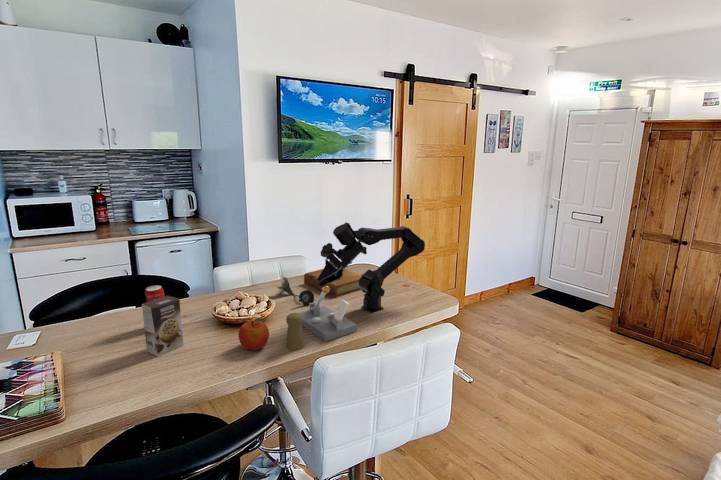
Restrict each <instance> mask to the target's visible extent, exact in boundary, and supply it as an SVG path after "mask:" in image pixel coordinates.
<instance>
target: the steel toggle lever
mask: <svg viewBox="0 0 721 480" xmlns="http://www.w3.org/2000/svg"><path fill="white" fill-rule="evenodd" d="M329 291H330V288H329V286H327V285H324V286H323V287H322V291H321V292H320V294H319V296H318V298H317V299H316V301H315V302H314V303H315V305H312V306H311V308H310V309H311V310H312V311H313V312H314V307H320V305H321V303H322V301H323V300H324V297H325V296H326V295H327V294H328V292H329Z"/></svg>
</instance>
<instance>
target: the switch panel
mask: <svg viewBox="0 0 721 480" xmlns="http://www.w3.org/2000/svg"><path fill="white" fill-rule="evenodd" d="M315 303H316V302H313V303H309V309H308V310H305V311H301V312H298V313H299V314H301V315H302V318H303V320H302V323H301V327H302V326H303V327H304V328H305V329H307V330H308V331H310V332H311V333H312V334H314V335H315V336H317V337H318V338H320V339H321V340H323V341H324V342H325V343H326V342H328V341H333V340H335V339H338V338H340V337H341V338H342V337H343V336H347V335H349V334H352V333H355V332H357V329H358V328H357V326H358V325H357V323H354V322H353V321H351V320H349V319H347V318H346V317H344V316H343V318H342V320H339V321H336V326H335V325H334V324H333V323H332V322H331V321H330V320H331V318H332V317H334V315H335V312H336V311H333V310H332V309H330V308H329V307H327V306H326V305H322V306H319V307H314V312H313V311H312V310H311V309H310V308H311V306H312V305H315Z"/></svg>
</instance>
